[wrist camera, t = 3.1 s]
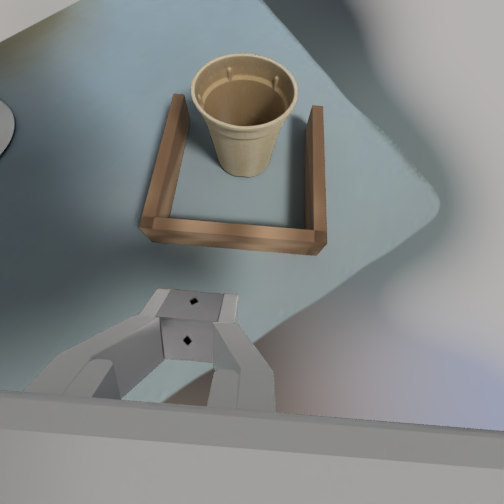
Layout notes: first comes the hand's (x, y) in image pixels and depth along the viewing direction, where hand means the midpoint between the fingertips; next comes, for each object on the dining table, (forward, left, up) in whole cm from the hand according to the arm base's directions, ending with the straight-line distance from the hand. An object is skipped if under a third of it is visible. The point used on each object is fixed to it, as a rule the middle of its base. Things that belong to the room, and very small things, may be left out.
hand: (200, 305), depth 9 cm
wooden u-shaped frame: (0, +16, -14) cm, 22 cm away
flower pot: (0, +20, -15) cm, 24 cm away
